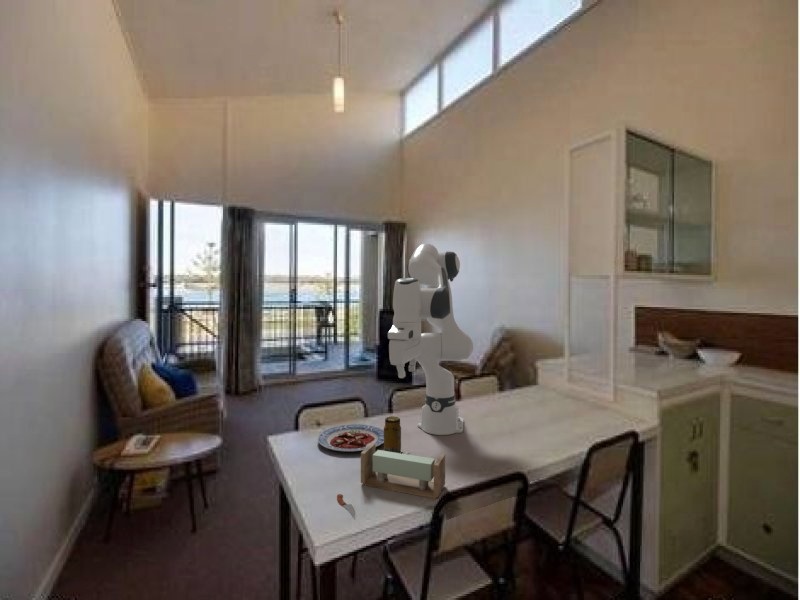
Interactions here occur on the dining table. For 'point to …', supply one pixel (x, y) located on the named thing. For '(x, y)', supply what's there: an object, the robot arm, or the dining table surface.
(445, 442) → the dining table surface
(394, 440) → the condiment
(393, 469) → the pale green rectangular block
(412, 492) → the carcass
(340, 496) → the knife
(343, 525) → the dining table surface
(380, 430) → the ceramic plate
